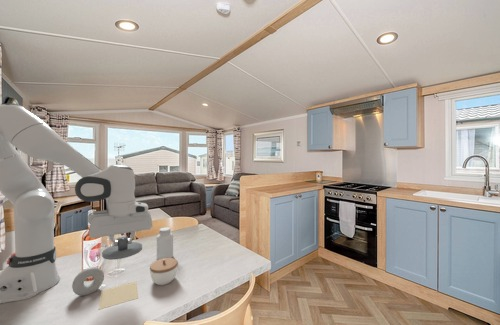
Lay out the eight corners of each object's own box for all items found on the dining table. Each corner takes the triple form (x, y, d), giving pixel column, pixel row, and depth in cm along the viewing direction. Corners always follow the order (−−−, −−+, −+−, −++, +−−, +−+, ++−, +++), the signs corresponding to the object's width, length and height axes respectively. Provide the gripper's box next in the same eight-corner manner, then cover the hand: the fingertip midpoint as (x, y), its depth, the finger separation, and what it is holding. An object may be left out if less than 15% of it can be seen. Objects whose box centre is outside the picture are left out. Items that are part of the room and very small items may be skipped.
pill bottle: (162, 262, 106) (161, 232, 106) (153, 257, 111) (153, 229, 111) (176, 256, 112) (176, 228, 112) (167, 252, 117) (167, 225, 117)
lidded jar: (143, 286, 86) (143, 264, 86) (162, 273, 97) (162, 252, 96) (166, 292, 83) (166, 268, 83) (182, 277, 93) (182, 255, 93)
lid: (100, 262, 72) (99, 248, 72) (103, 249, 83) (103, 236, 83) (143, 254, 78) (143, 240, 78) (141, 242, 90) (141, 230, 90)
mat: (98, 311, 73) (98, 309, 73) (101, 291, 83) (101, 290, 83) (138, 299, 79) (138, 297, 79) (136, 282, 89) (136, 281, 89)
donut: (102, 286, 87) (102, 261, 86) (105, 289, 85) (105, 264, 84) (71, 298, 79) (70, 271, 79) (73, 302, 77) (73, 275, 77)
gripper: (86, 213, 72) (87, 254, 73) (152, 206, 83) (153, 242, 83) (89, 209, 78) (90, 247, 78) (150, 203, 88) (151, 236, 89)
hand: (122, 244), depth 81 cm, fingers closed on lid, 3 cm apart
